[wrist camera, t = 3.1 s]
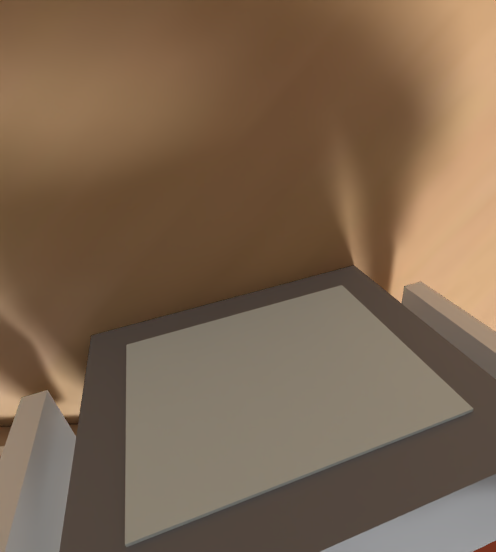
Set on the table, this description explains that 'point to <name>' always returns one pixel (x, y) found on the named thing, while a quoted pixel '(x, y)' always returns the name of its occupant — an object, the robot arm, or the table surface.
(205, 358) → the grey box
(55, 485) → the robot arm
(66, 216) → the table surface
